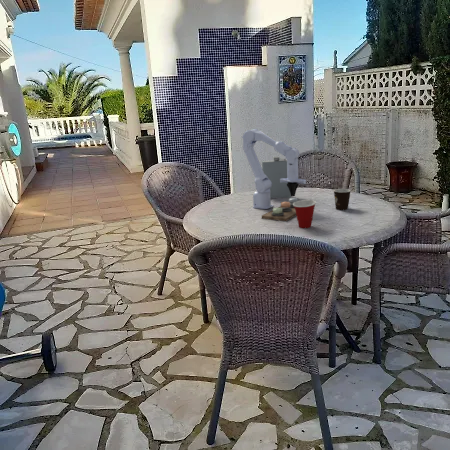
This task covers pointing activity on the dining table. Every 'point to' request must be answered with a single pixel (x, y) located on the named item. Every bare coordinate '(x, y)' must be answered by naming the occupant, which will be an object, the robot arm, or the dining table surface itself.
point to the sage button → (277, 210)
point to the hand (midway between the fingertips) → (293, 196)
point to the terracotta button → (285, 204)
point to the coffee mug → (342, 198)
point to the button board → (281, 214)
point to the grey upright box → (277, 177)
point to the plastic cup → (304, 212)
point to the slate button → (293, 200)
